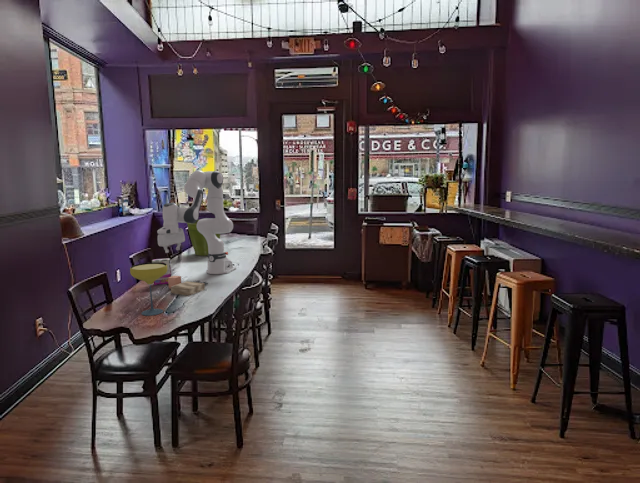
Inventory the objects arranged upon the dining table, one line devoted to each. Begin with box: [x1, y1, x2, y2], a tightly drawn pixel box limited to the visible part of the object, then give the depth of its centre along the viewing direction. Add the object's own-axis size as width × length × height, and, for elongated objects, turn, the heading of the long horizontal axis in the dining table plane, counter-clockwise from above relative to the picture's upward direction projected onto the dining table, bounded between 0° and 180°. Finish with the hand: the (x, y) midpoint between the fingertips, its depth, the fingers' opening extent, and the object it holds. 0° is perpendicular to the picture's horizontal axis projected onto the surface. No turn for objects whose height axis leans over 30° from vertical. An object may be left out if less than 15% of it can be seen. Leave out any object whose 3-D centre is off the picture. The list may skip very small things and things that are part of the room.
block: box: [167, 275, 182, 289], centre depth 284 cm, size 6×6×7 cm
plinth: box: [170, 280, 206, 297], centre depth 275 cm, size 14×14×4 cm
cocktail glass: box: [129, 261, 167, 317], centre depth 234 cm, size 18×18×25 cm
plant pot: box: [186, 219, 221, 257], centre depth 390 cm, size 30×30×29 cm
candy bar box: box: [151, 257, 173, 286], centre depth 293 cm, size 11×5×16 cm, turn 105°
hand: (172, 251), depth 281 cm, fingers open, 8 cm apart
